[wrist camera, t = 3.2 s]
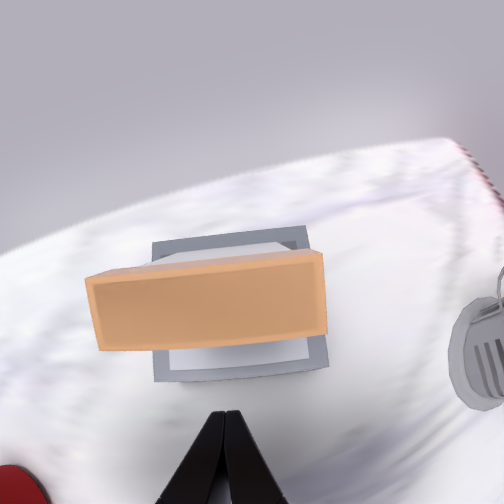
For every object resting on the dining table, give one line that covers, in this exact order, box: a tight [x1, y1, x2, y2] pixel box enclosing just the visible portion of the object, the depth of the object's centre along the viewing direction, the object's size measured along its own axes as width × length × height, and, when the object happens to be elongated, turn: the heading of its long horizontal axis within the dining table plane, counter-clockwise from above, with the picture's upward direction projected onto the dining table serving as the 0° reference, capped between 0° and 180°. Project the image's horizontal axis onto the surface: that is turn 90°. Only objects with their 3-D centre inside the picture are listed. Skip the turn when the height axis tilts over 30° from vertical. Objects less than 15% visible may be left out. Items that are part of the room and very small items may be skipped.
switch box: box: [152, 225, 329, 382], centre depth 18 cm, size 8×9×6 cm
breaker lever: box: [85, 242, 328, 351], centre depth 11 cm, size 2×5×10 cm, turn 96°
